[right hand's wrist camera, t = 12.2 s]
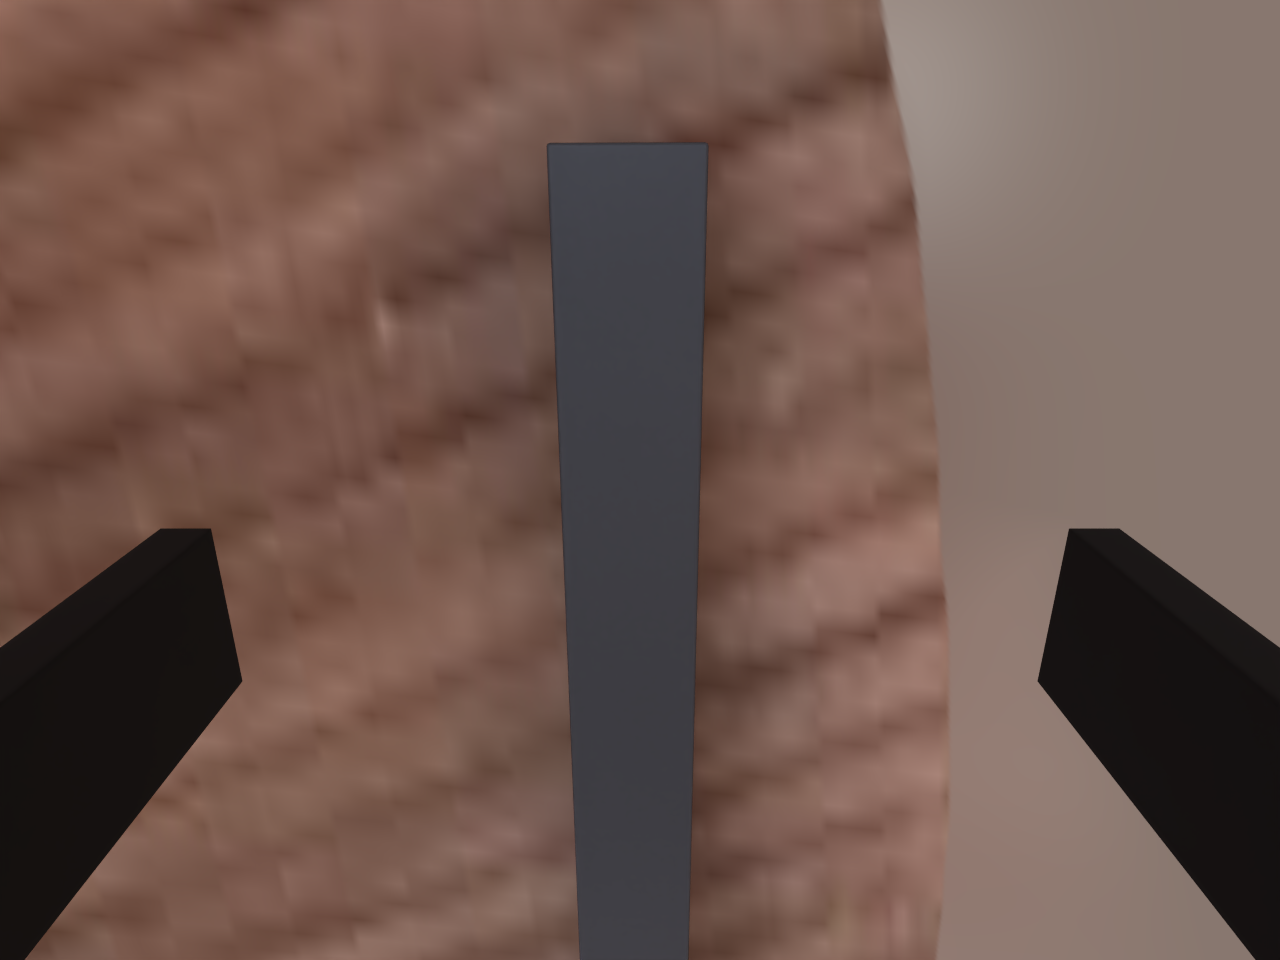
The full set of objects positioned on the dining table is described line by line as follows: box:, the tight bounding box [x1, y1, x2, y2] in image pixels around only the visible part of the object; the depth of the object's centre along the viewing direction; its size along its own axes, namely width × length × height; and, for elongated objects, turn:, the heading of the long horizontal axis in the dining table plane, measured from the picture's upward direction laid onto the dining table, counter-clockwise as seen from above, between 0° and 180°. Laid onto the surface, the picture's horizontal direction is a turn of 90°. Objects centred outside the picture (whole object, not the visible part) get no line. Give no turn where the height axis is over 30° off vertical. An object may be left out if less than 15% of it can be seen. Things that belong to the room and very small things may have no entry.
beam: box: [547, 142, 708, 960], centre depth 37 cm, size 55×5×8 cm, turn 0°
